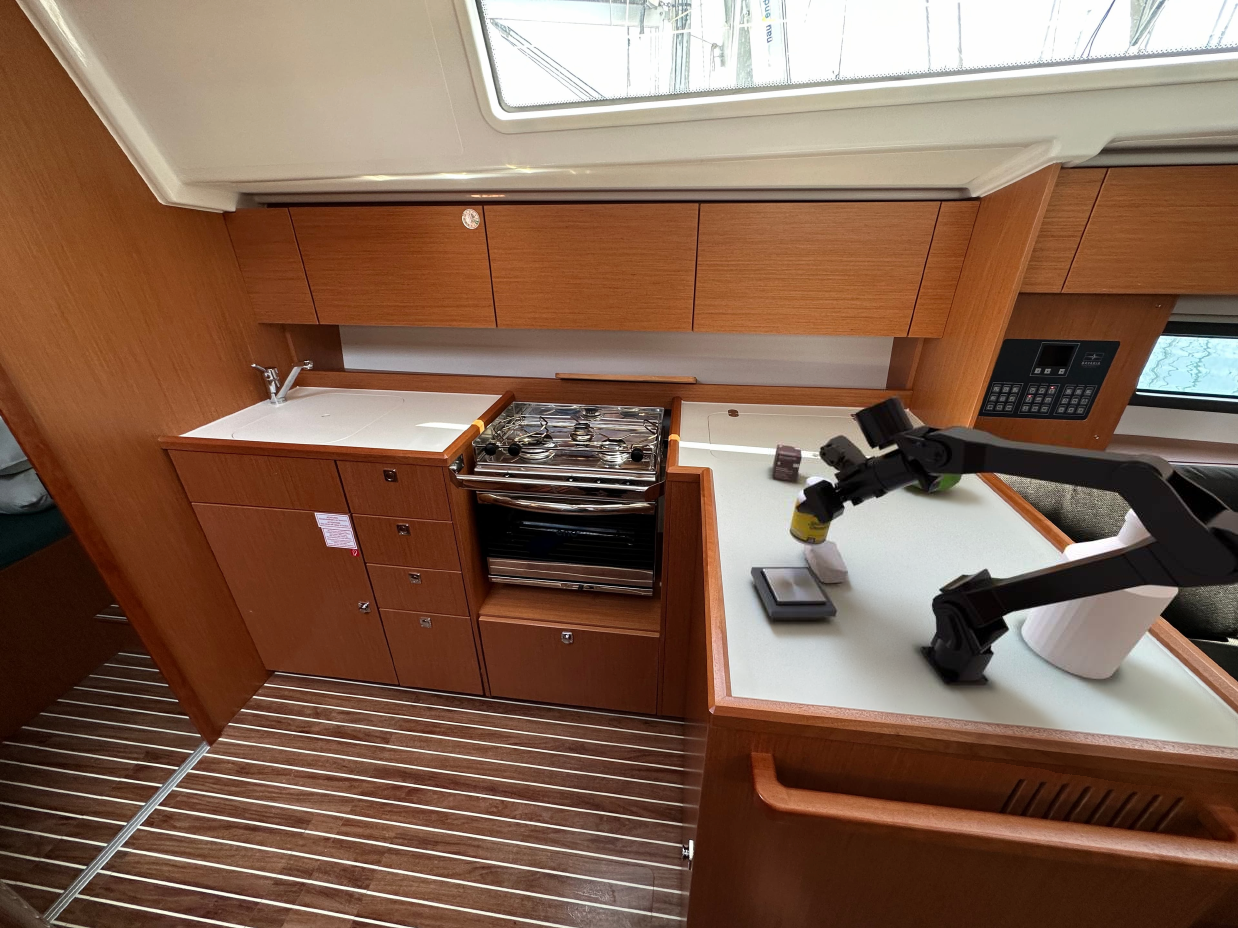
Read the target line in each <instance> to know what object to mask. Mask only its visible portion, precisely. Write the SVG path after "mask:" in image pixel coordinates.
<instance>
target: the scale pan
mask: <svg viewBox="0 0 1238 928" xmlns="http://www.w3.org/2000/svg"><path fill="white" fill-rule="evenodd" d="M762 576H763V578H764V580H765V582H766V585H767V587H768V589H769V591H770V593H771V595H772V597H773V599H774V601H775V603H776V606H818V605H825V602H826V600H825V598H824V596H823V595H822V593H821V591H820V590H819V588H818V587H817V585H816V583H815V582H814V580H813V578H812V577H811V575H810V573H809V572H808V570H807V569H763V571H762Z"/></svg>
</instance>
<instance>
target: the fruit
mask: <svg viewBox="0 0 1238 928" xmlns="http://www.w3.org/2000/svg"><path fill="white" fill-rule="evenodd" d="M943 475H944V476H943V477H942V479H941V481H940V485H939V488H937V489H935V490H933V491H932V492H939V491H945V490H949V489H951V488H953V487H955V486H956V485H957V484H959V483H960V481H961V480H962V477H963V475H958V474H943ZM910 486H913V487H915V488H919V489H920V490H921V489H922V488H921V486H920V484H919V482H917V483H914V484H911V485H910ZM922 490H923V489H922Z"/></svg>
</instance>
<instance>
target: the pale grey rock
mask: <svg viewBox="0 0 1238 928" xmlns="http://www.w3.org/2000/svg"><path fill="white" fill-rule="evenodd" d="M802 550H803V552H802V553H803V556H804V558H805V559H806V561H807V563H808V565H809V567H810V568H811V569H812V571H813V573H814V574H815V576H816V577H817V579H818V580H819V581H821V582H822V583H825V584H836V583H843V582H844V581H845V578H846V577H847V576H848V575H847V574H848V568H847V566H846V564H845V562H844V560H843V557H842V554H841V552H840V550H839V548H838V546H837V544H836V542H835V541H831V540H828V539H826V540H825V542H824V543H823V544H821V545H817V546H810V545H805V544H804V546H803V549H802Z"/></svg>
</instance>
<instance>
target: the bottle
mask: <svg viewBox="0 0 1238 928" xmlns="http://www.w3.org/2000/svg"><path fill="white" fill-rule="evenodd" d="M1124 520H1125V522H1124V523H1123V525H1122V527H1121V528H1120V530H1119V532H1118V534H1117V535H1115V536H1111V537H1106V538H1102V539H1097V540H1093V541H1083V542H1077V543H1072V544H1068V546H1066V547H1065V548H1064V550H1063V553H1062V554H1061V556H1060V558H1059V560H1058V562H1057V563H1056V565H1059V564H1062V563H1066V562H1070V561H1074V560H1078V559H1081V558H1085V557H1089V556H1093V555H1097V554H1100V553H1104V552H1108V551H1112V550H1116V549H1119V548H1123V547H1127V546H1130V545H1132V544H1134V543H1136V542H1138V541H1140V540H1142V539H1144V538H1146V537H1148V536H1150V534H1149V532H1148V531H1147V530H1146V529H1145V527H1144V526H1143V524H1142V523H1141V521H1140V520H1139V518H1138V517H1137V516H1136V514H1135V513H1134V511H1133V510H1132V508H1131V507H1130V508H1129V510H1128V511H1127V513H1126V514H1125V516H1124ZM1178 593H1179V588H1177V587H1165V586H1153V585H1146V586H1139V587H1134V588H1129V589H1124V590H1119V591H1114V592H1109V593H1104V594H1099V595H1094V596H1089V597H1084V598H1080V599H1075V600H1070V601H1065V602H1060V603H1055V604H1050V605H1045V606H1040V607H1035V608H1031V610H1030V612H1029V614H1028V615H1027V618H1026V619H1025V622H1024V623H1023V625H1022V627H1021V635H1022V639H1023V640H1024V641H1025V643H1026V644H1027V645H1028V646H1029V648H1031V650H1033V651H1034V653H1035V654H1037V655H1038V656H1040V657H1041V658H1043V659H1044V660H1045V661H1047V662H1049V663H1050V664H1052V665H1053V666H1056V667H1057V668H1059V669H1061V670H1063V671H1065V672H1068V673H1070V674H1073V675H1076V676H1079V677H1083V678H1086V679H1093V680H1103V679H1108V678H1110V677H1111V676H1112V675H1113V674H1114V673H1115V672H1116V671H1117V670H1118V668H1119V667H1120V666H1121V664H1123V662H1124V661H1125V659H1126V658H1127V657H1128V655H1129V654H1130V653H1131V652H1132V650H1133V649H1134V648H1135V647H1136V645H1137V644H1138V643H1139V642H1140V641H1141V639H1143V637H1144V636H1145V635H1146V633H1147V632H1148V631H1149V630H1150V628H1151V627H1152V626H1153V624H1155V622H1156V621H1157V619H1158V618H1159V617H1160V616H1161V614H1162V613H1163V612H1164V611H1165V609H1166V608H1167V607H1168V606H1169V604H1170V603H1171V602H1172V601H1173V599H1174V598H1175V597H1176V596H1177V595H1178Z"/></svg>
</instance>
